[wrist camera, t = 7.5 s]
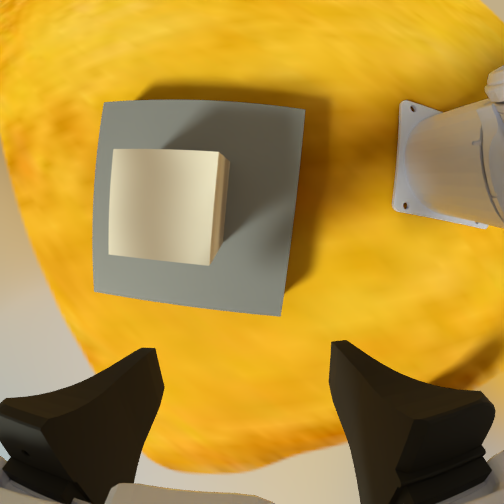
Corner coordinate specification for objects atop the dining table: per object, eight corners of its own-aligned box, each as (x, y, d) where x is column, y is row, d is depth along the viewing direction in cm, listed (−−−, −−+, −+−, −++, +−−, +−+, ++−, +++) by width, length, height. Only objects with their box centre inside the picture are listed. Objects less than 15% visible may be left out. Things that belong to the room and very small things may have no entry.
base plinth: (298, 120, 18) (305, 109, 16) (277, 298, 21) (280, 316, 18) (123, 111, 18) (104, 102, 15) (113, 278, 21) (94, 291, 18)
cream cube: (230, 161, 16) (219, 151, 11) (222, 243, 17) (209, 265, 12) (151, 157, 16) (113, 149, 11) (146, 235, 17) (108, 254, 12)
